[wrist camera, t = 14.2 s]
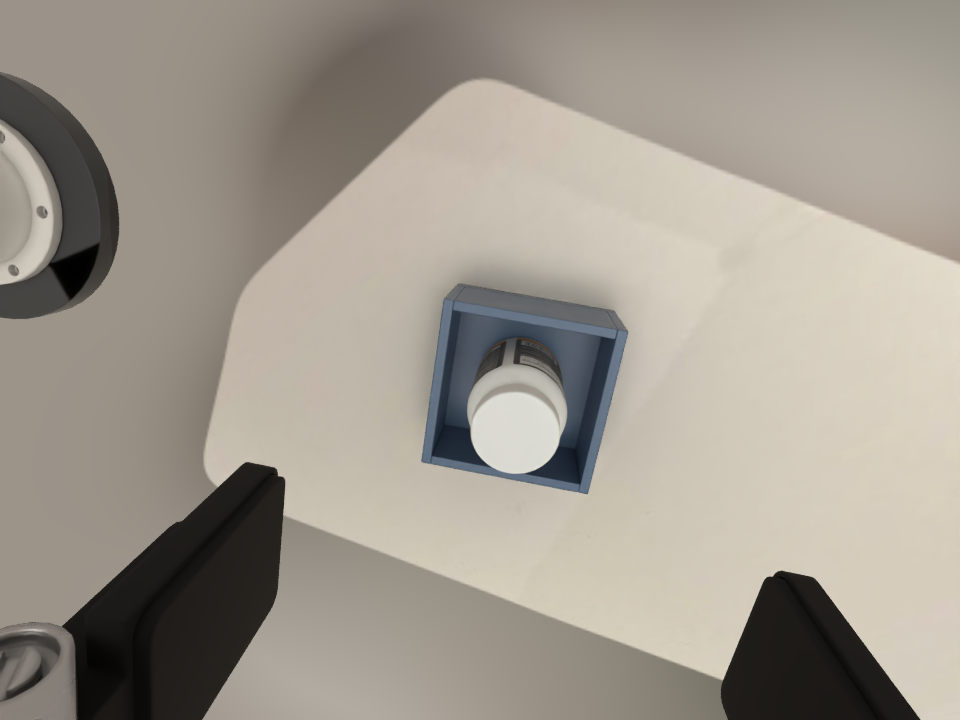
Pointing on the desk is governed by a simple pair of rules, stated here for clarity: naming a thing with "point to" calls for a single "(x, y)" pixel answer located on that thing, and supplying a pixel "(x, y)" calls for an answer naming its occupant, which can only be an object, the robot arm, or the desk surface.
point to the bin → (583, 364)
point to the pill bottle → (517, 406)
